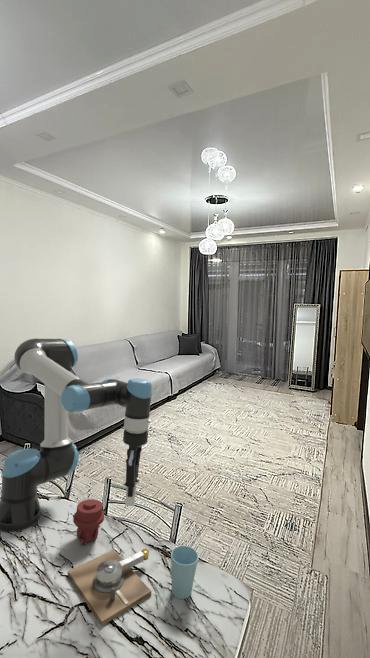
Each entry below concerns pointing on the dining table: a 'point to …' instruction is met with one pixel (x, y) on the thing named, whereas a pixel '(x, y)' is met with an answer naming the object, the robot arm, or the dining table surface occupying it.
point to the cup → (183, 570)
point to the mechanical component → (88, 519)
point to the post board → (108, 589)
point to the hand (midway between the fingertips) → (130, 504)
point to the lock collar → (117, 569)
